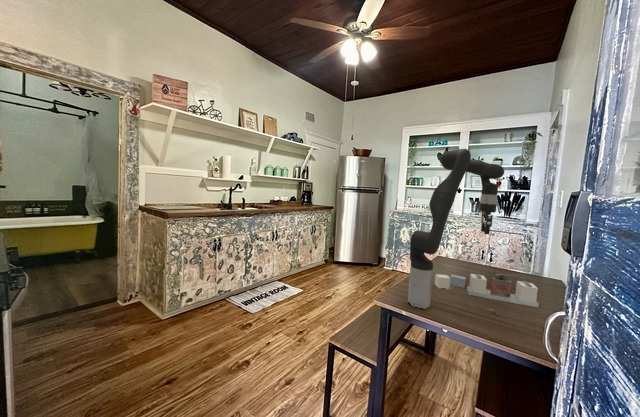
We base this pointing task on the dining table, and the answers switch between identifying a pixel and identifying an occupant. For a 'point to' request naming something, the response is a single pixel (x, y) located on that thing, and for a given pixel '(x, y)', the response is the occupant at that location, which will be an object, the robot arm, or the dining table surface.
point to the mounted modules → (523, 289)
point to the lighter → (501, 285)
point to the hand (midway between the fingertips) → (484, 232)
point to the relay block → (442, 281)
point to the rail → (502, 297)
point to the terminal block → (457, 281)
